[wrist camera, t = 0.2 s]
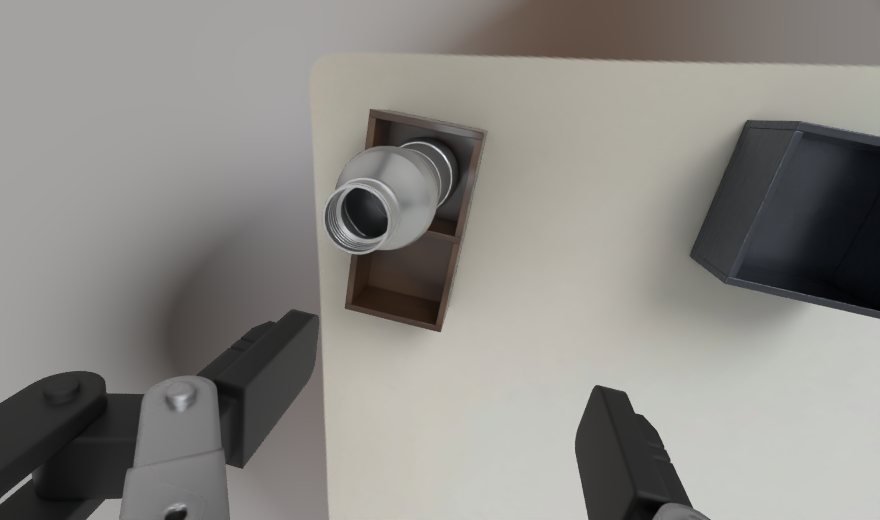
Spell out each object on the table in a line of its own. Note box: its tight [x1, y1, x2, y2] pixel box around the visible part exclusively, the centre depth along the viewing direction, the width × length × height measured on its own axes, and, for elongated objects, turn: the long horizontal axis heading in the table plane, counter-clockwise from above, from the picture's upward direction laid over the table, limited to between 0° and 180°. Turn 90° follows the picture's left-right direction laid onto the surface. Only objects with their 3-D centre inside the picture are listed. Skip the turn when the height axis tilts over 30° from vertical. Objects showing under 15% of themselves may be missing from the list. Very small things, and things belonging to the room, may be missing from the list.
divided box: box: [345, 109, 487, 332], centre depth 39 cm, size 18×9×5 cm, turn 169°
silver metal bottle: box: [322, 137, 459, 255], centre depth 31 cm, size 6×7×20 cm
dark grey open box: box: [690, 120, 880, 319], centre depth 33 cm, size 12×12×7 cm
